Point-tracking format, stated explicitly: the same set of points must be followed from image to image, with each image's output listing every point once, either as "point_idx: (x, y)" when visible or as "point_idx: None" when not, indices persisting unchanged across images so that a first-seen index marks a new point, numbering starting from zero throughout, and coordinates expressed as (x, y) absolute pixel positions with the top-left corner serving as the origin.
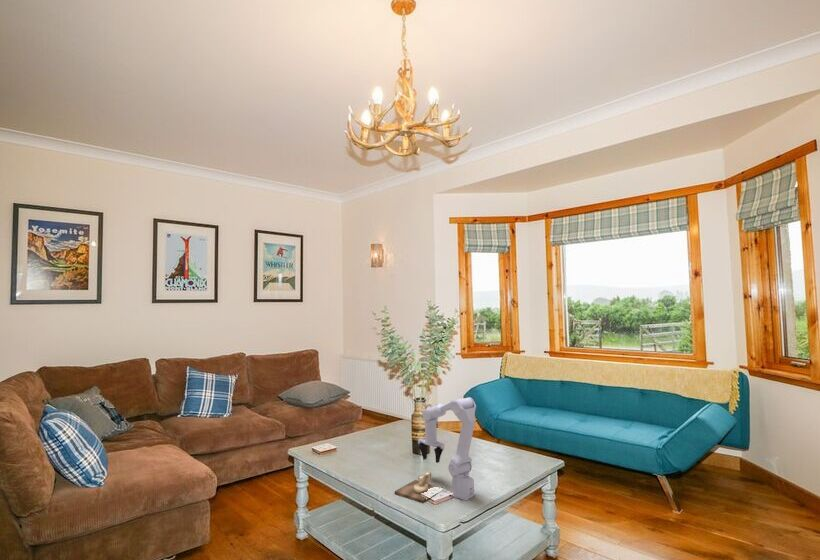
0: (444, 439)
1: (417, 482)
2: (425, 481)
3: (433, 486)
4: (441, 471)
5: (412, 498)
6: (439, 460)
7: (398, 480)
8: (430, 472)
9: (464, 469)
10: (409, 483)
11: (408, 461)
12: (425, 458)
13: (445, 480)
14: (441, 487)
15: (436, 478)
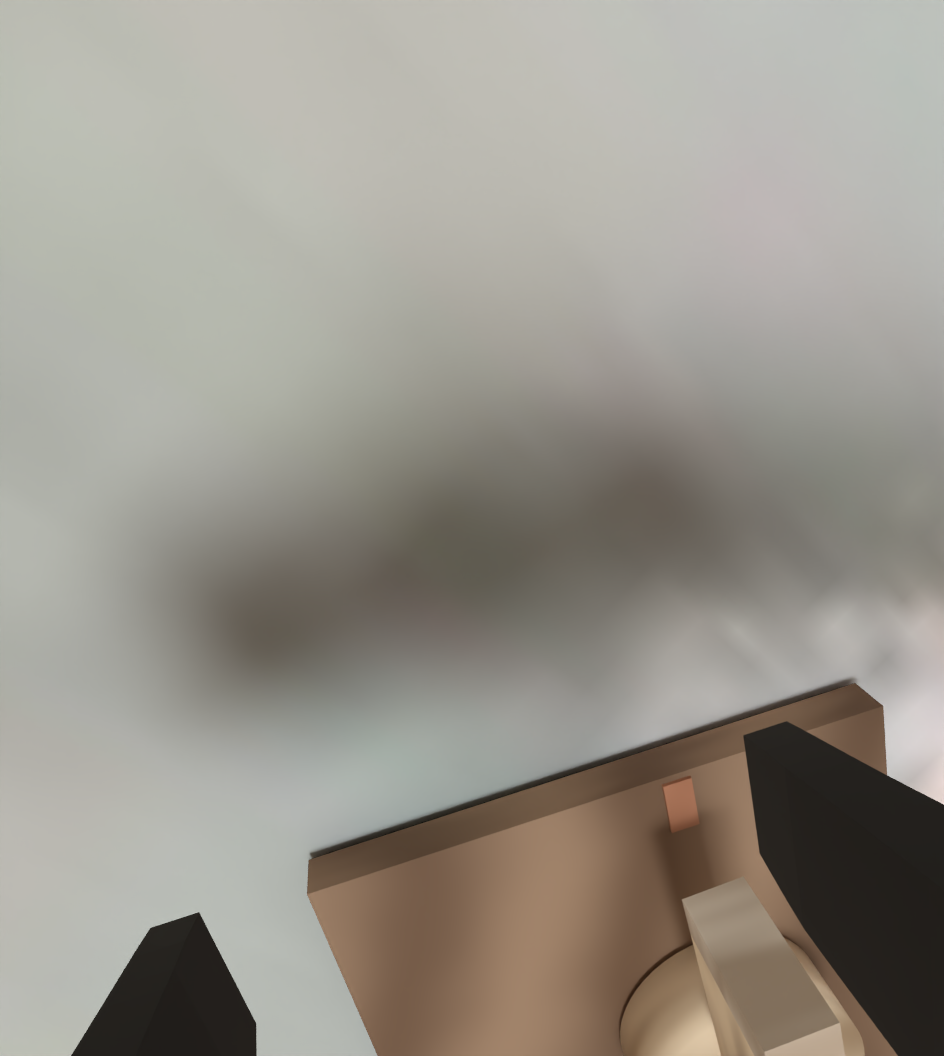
0: None
1: (435, 917)
2: None
3: (741, 797)
4: (131, 26)
5: None
6: (825, 746)
7: (45, 1018)
8: (832, 1038)
9: None
10: (381, 1027)
11: None
12: (220, 984)
13: (611, 366)
14: (865, 723)
15: (410, 444)
